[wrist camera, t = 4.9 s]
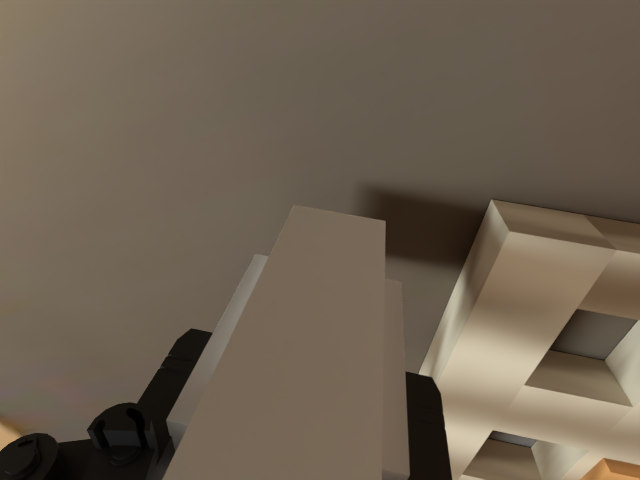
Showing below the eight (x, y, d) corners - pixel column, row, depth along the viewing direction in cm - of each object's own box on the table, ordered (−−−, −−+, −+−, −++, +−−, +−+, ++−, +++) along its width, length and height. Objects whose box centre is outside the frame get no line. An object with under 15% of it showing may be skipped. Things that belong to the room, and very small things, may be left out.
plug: (293, 204, 16) (13, 790, 4) (385, 220, 15) (374, 904, 4) (287, 275, 18) (99, 782, 6) (368, 291, 17) (327, 850, 6)
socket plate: (491, 199, 17) (515, 241, 14) (808, 252, 16) (912, 311, 13) (390, 441, 29) (390, 494, 26) (568, 480, 28) (591, 540, 25)
